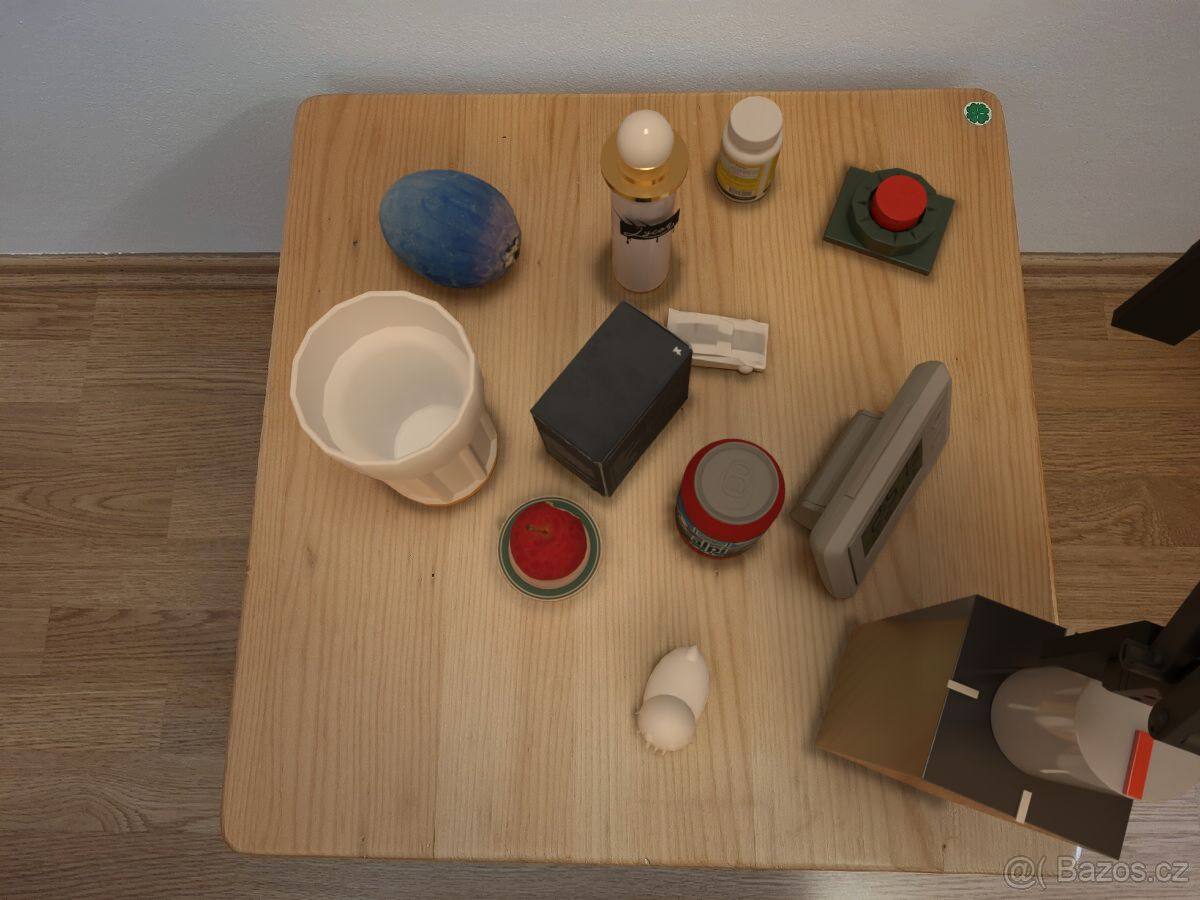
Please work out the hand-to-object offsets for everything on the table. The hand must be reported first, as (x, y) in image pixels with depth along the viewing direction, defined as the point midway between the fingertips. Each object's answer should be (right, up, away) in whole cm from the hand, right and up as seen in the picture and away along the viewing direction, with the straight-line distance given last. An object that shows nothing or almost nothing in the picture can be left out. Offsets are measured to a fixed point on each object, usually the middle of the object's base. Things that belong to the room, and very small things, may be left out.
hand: (1105, 487), depth 36 cm
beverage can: (-11, -4, +32) cm, 34 cm away
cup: (-33, +1, +34) cm, 47 cm away
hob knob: (0, -11, +5) cm, 12 cm away
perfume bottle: (-17, +16, +37) cm, 44 cm away
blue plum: (-31, +17, +38) cm, 52 cm away
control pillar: (+1, -17, +28) cm, 33 cm away
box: (-19, +3, +34) cm, 39 cm away
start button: (+3, +21, +36) cm, 42 cm away
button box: (+3, +20, +38) cm, 43 cm away
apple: (-24, -6, +32) cm, 40 cm away
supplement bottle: (-8, +24, +39) cm, 47 cm away
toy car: (-11, +10, +36) cm, 39 cm away
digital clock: (0, -2, +32) cm, 32 cm away
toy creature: (-15, -17, +29) cm, 36 cm away
